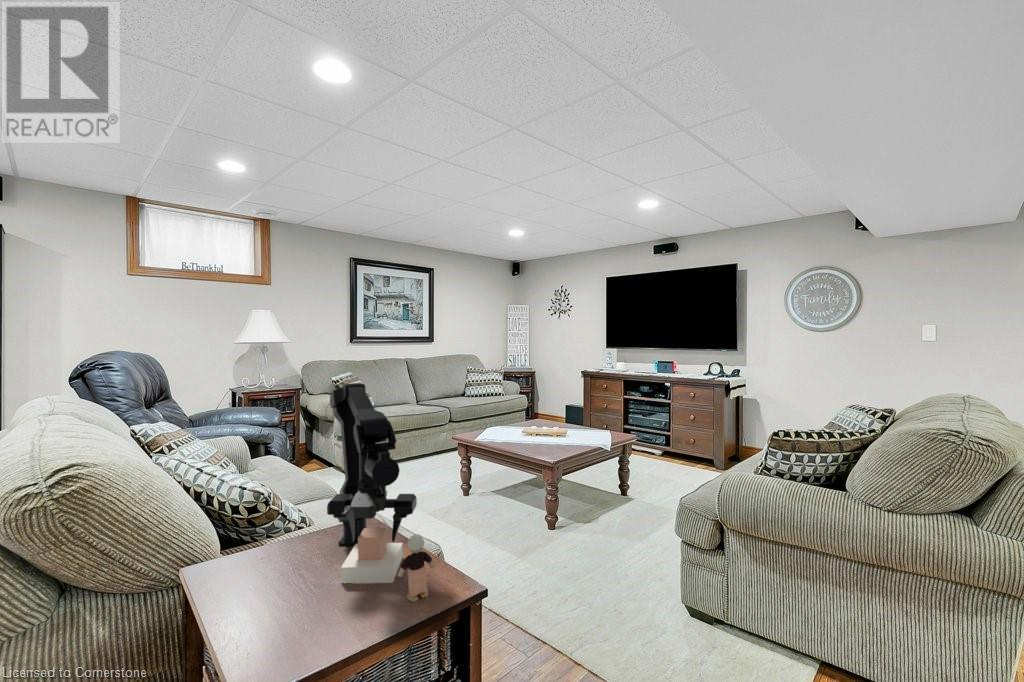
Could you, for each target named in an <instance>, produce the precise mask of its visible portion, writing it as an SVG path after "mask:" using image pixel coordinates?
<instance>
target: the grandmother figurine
mask: <svg viewBox="0 0 1024 682" xmlns="http://www.w3.org/2000/svg"><path fill="white" fill-rule="evenodd" d="M424 546H425V540H424V538H423V536H422V535H421V534H418V533H417V534H413V535H411V536H410V537H409V539H408V541H407V548H408V549H409V550H410V552H411V554H409V555H407V556H406V557H405V558H404V559H403V561H401V563H400V566H399V569H398V571H397V577H399V578H402V577H403V576H404V572H406V570H407V569H408V594H407V595H406V596H407V597H406V599H407V600H409V601H411V602H413V603H415V602H417V601H418V600H419V597H420V598H421V597H422V599H425V598H428V597H429V590H428V581H427V579H428V578H427V571H426V565H425V562H426V563H427V564H428V565H429V568H430V569H434V568H435V566H436V565H435V564H436V563H434V560H433V558H432V557H431V556H430V554H429V553H427V552H426V551H422V549H423V547H424ZM418 595H419V596H418ZM427 596H428V597H427ZM424 597H425V598H424ZM414 601H415V602H414Z"/></svg>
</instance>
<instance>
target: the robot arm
mask: <svg viewBox="0 0 1024 682" xmlns="http://www.w3.org/2000/svg"><path fill="white" fill-rule="evenodd" d="M365 385H366V384H364V383H362V382H355V383H354V382H353V383H352V382H351V383H346V384H343V386H342V387H339V388H337V389H335V390H332V392H331V394H330V396H329V405H330V408H331V409H332V412H333V416H334V417H335V419H336V420H337V421H338V423H339V424H340V430H341V431H340V433H341V444H342V454H343V455H342V456H343V467H344V477H345V478H344V482H343V484H342V486H341V488H340V490H339V493H337V494H335V495H334V496H333V498H332V499H331V500H330V501H328V503H327V506H326V514H327V515H329V516H333V518H334V519H337V520H338V522H339V523H342V537H341V538H340V540H339V541H338V543H337V544H338V546H355V544H358V537H359V535H360V534H361V532H362V531H363V530H364V528H367V519H368V520H370V519H371V520H372V519H373V518H375V517H376V515H377V513H379V512H381V511H385V509H393V512H394V514H393V515H392V519H393V520H392V521H393V522H392V534H391V543H395V541H396V539H397V536H398V532H399V530H400V526H401V523H402V521H403V518H404V519H405V518H408V516H409V515H413V514H414V511H415V509H416V507H417V505H418V504H417V502H418V501H417V500H418V499H417V496H416V494H415V493H399V494H397V497H396V498H387V496H388V490H387V486H388V487H389V486H390V485H392V484H393V483H395V482H396V480H397V479H398V477H399V475H400V466H399V464H398V463H397V461H396V460H395V459H393V458H392V457H391V452H390V451H391V450H396V443H397V439H396V436H395V431H394V428H393V425H392V424H391V421H390V420H389V419H388V418H387V415H385V413H384V412H381V411H378V410H376V409H375V407H374V405H373V404H372V401H371V399H370V398H369V395H368V394H367V392H366V391H367V390H366V386H365Z"/></svg>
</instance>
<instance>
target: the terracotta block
mask: <svg viewBox="0 0 1024 682" xmlns="http://www.w3.org/2000/svg"><path fill="white" fill-rule="evenodd" d="M387 543H388V542H387V527H366V528H364V530H363V531H362V532H361V534H360V535H359V537H358V560H381V559H382V557H383V555H384V553H385V551H386V549H387Z"/></svg>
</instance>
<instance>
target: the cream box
mask: <svg viewBox="0 0 1024 682" xmlns="http://www.w3.org/2000/svg"><path fill="white" fill-rule="evenodd" d="M403 543H404V542H387V549H386V551H385V553H384V555H383V557H382V559H381V560H358V544H355V545H353V547H352V549H351V550H350V552H349V554H348V555H347V557H346V559H345V560H344V561H343V564H342V565H341V566H340V584H341V583H344V584H343V585H345V583H352V584H353V583H354V584H353V585H355V583H356V584H389V583H390V584H391V583H392V584H393V583H394V581H395V579H396V576H397V574H398V572H399V569H400V566H401V564H402V560H403ZM352 584H351V585H352Z"/></svg>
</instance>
